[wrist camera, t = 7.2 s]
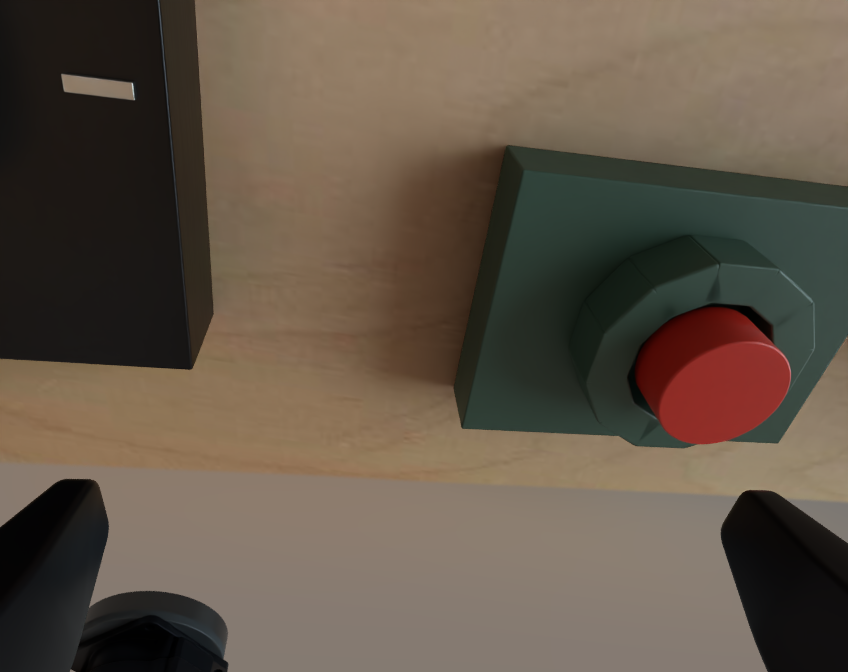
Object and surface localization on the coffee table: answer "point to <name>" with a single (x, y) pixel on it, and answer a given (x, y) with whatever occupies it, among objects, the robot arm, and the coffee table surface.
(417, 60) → the coffee table surface
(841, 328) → the block
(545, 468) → the coffee table surface
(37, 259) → the panel
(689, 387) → the power button
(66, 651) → the robot arm
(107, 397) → the coffee table surface
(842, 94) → the coffee table surface
